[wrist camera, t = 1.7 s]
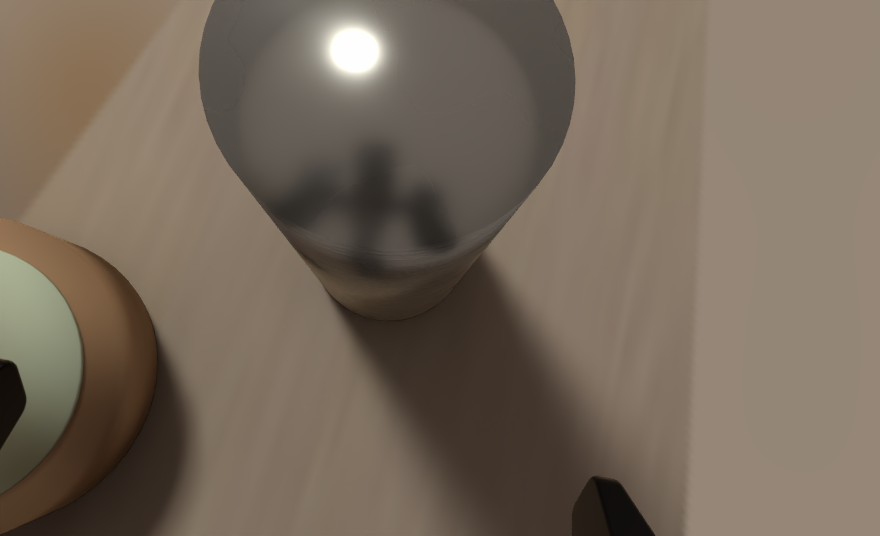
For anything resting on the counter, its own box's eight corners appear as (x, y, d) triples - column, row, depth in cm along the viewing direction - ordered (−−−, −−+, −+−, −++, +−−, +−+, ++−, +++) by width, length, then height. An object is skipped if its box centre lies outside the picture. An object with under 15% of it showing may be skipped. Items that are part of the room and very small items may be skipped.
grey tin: (427, 346, 21) (489, 313, 8) (283, 279, 21) (124, 146, 8) (490, 208, 22) (626, -4, 10) (353, 144, 22) (307, -153, 10)
